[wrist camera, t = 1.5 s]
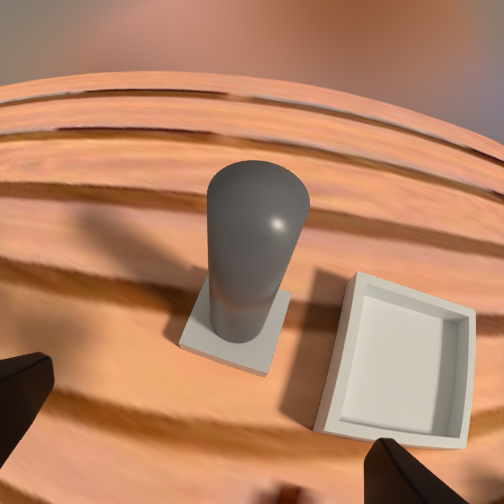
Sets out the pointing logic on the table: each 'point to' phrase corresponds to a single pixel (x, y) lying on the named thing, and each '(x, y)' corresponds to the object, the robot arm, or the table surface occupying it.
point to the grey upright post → (246, 264)
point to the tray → (400, 368)
